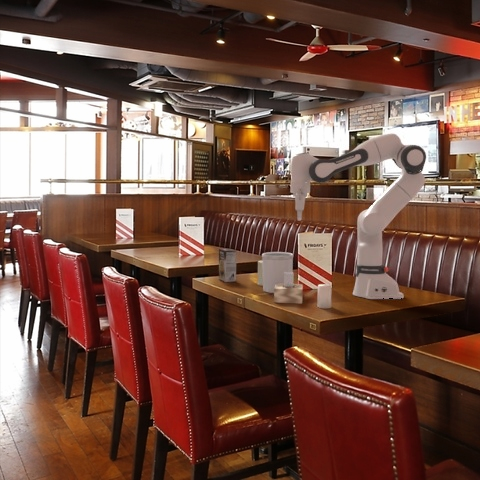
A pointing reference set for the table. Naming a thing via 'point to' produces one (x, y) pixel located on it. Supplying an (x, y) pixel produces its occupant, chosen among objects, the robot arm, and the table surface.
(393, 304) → the table surface
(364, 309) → the table surface
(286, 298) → the socket block
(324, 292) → the white rounded block
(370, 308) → the table surface
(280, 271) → the utensil holder
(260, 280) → the can
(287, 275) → the square bar
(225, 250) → the coffee box
